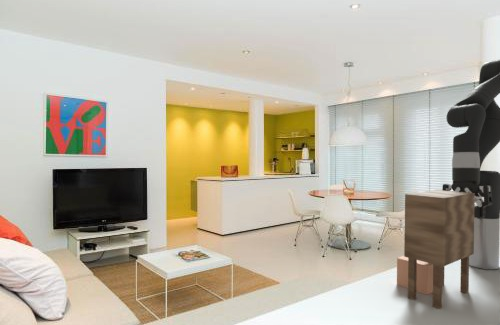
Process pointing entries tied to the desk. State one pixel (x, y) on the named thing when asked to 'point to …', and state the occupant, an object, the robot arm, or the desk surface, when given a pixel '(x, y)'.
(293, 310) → the desk surface
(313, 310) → the desk surface
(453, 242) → the walnut cabinet
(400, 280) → the terracotta block
